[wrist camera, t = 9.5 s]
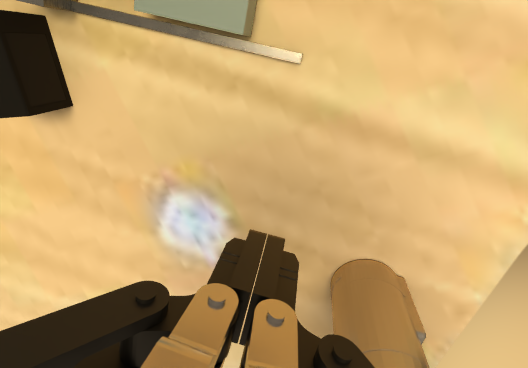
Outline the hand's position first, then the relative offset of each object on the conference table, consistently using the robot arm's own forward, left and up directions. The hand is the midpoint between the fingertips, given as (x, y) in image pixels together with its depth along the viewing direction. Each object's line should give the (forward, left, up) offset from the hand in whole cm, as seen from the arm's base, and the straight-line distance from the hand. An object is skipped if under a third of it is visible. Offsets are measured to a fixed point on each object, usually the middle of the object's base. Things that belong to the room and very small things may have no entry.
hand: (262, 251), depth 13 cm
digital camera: (+32, +1, -27) cm, 42 cm away
